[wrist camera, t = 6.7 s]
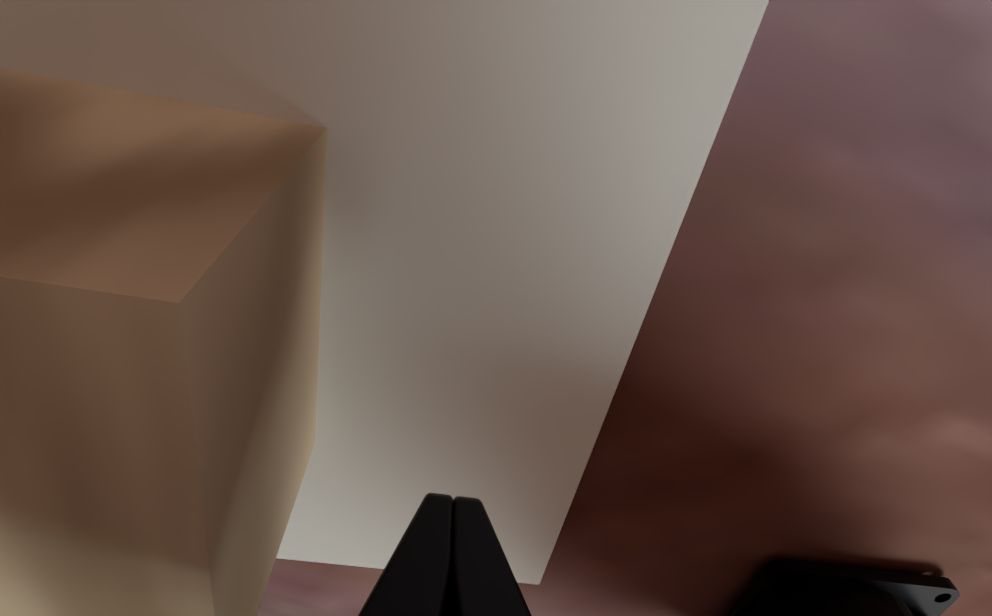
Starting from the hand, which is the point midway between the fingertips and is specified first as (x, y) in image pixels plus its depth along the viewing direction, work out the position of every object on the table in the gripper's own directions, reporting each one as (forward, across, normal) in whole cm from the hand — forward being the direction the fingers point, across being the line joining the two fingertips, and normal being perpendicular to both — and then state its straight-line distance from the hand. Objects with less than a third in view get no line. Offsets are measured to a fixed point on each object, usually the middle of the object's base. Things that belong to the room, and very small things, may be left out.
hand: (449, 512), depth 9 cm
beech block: (+2, +3, 0) cm, 4 cm away
